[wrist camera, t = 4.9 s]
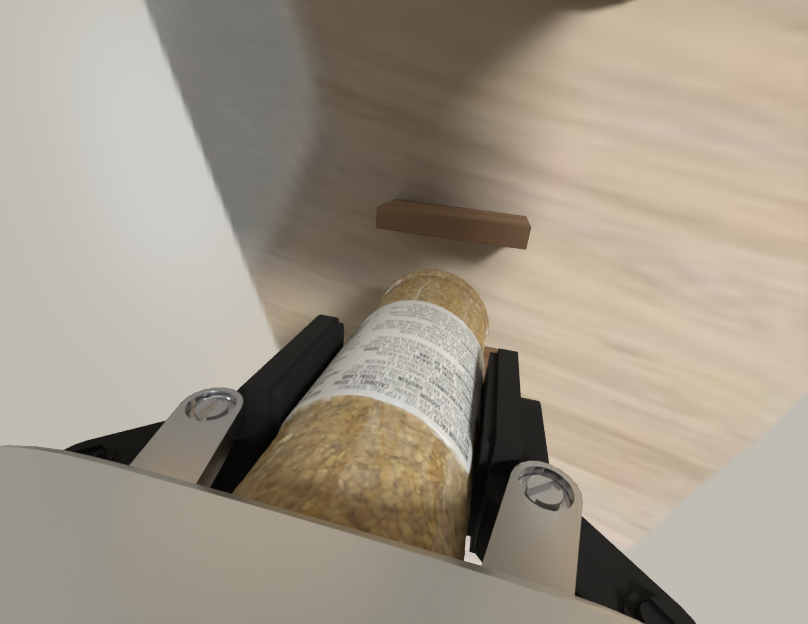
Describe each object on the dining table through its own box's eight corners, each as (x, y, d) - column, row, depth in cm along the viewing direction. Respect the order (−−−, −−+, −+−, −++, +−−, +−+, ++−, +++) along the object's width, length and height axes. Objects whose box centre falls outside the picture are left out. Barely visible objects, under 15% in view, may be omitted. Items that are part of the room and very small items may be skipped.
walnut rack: (395, 199, 21) (377, 206, 18) (525, 216, 20) (530, 227, 17) (383, 341, 25) (366, 368, 22) (494, 363, 24) (493, 395, 20)
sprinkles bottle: (436, 387, 17) (273, 983, 5) (357, 317, 16) (-35, 787, 4) (516, 320, 15) (571, 1051, 3) (428, 239, 14) (67, 709, 2)
